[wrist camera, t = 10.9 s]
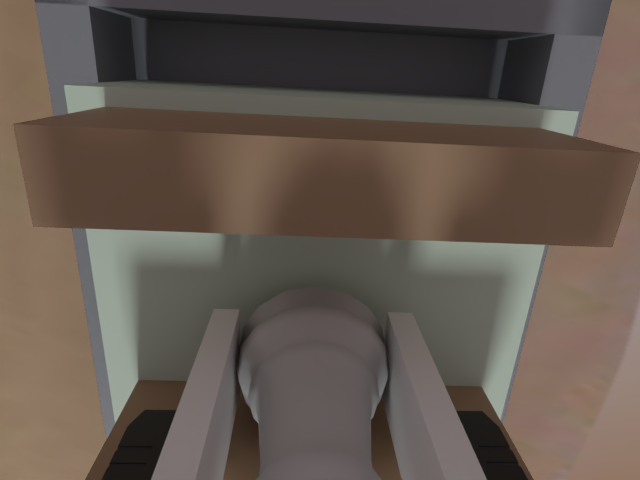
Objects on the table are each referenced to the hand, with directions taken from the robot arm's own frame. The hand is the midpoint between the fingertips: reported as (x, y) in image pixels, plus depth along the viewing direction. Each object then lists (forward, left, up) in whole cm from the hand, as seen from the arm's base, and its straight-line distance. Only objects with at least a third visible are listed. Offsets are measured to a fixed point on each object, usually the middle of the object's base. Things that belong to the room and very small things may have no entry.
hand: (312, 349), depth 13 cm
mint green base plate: (0, +1, -7) cm, 7 cm away
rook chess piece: (0, 0, 0) cm, 0 cm away
